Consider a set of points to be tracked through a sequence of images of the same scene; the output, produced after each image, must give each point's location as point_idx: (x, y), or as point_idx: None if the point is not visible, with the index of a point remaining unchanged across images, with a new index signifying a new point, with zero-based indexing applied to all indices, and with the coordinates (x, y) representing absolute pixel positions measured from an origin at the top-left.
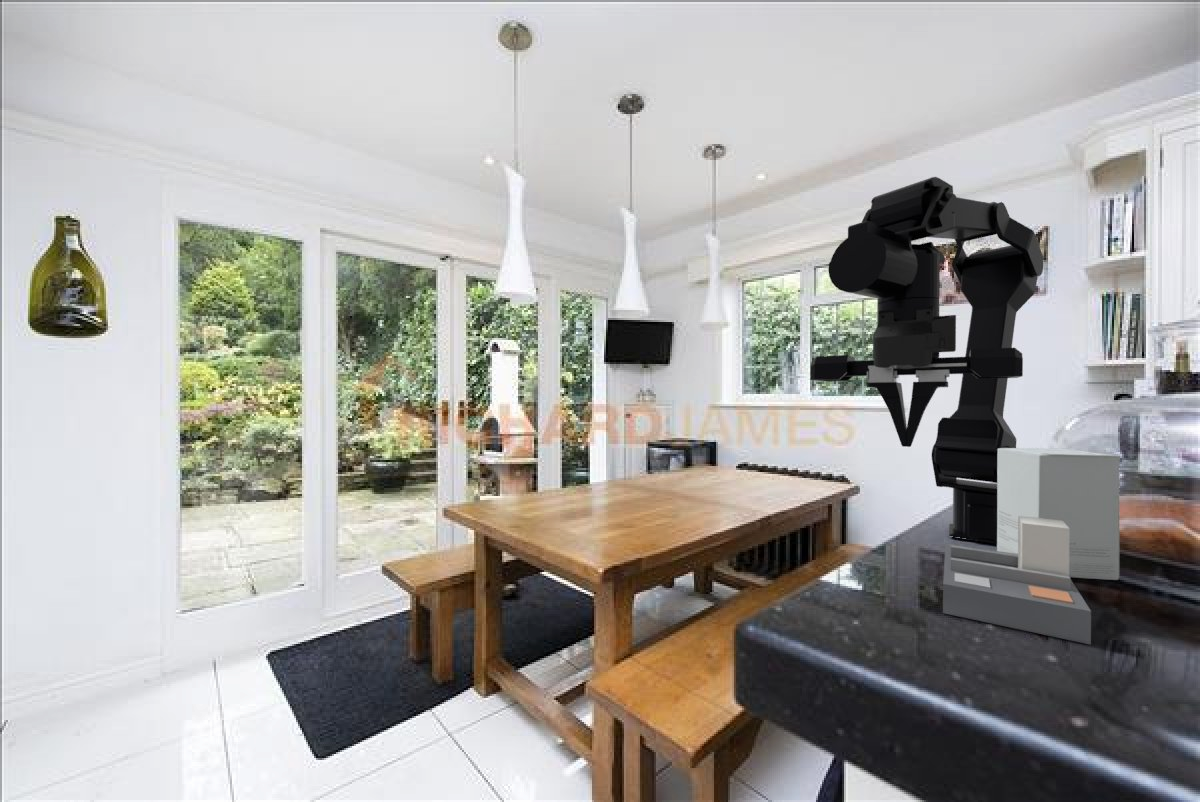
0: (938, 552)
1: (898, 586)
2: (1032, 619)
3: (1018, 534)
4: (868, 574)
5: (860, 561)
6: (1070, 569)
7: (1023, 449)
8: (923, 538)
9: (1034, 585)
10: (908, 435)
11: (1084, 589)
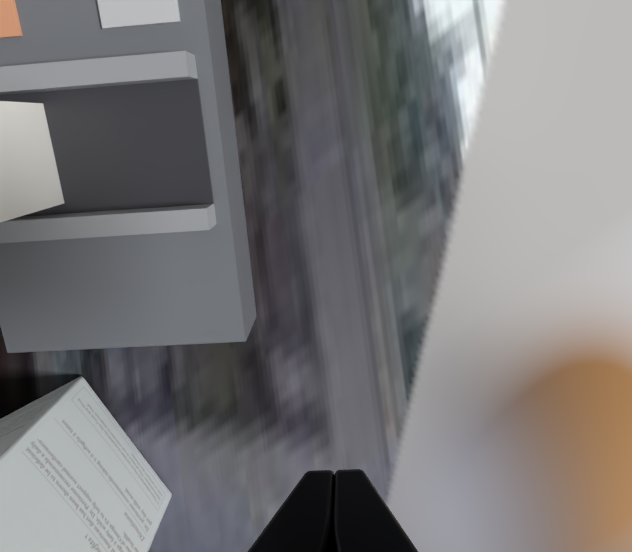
0: (285, 431)
1: (329, 64)
2: None
3: (5, 212)
4: (411, 114)
5: (447, 220)
6: (20, 409)
7: None
8: None
9: (14, 63)
10: (314, 515)
11: None
